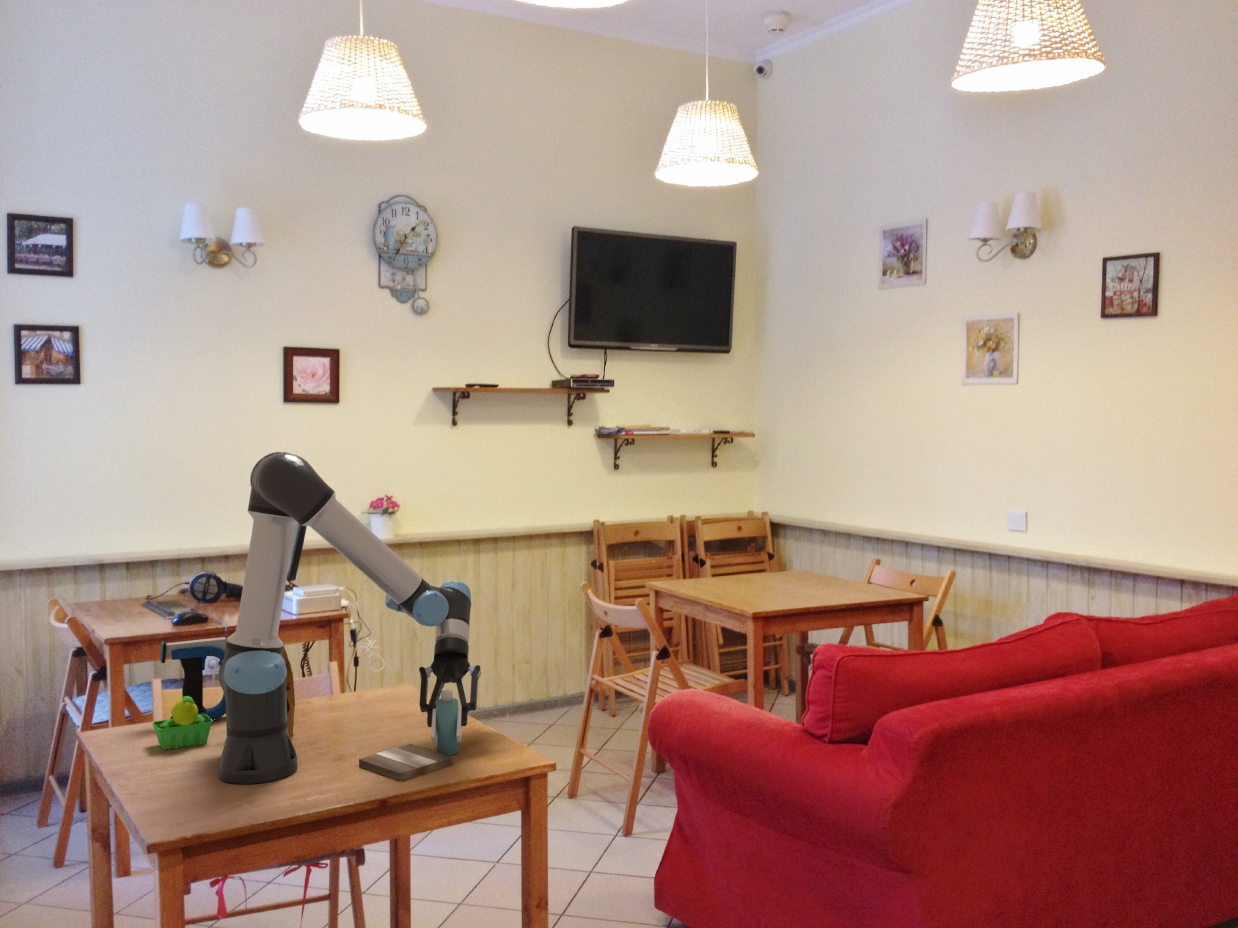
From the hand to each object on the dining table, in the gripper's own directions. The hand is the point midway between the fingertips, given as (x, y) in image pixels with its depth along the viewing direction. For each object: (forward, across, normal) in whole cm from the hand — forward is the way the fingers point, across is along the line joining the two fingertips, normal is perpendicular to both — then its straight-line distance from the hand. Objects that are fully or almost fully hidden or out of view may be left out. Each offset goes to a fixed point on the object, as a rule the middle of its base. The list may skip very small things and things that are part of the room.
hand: (446, 739), depth 221 cm
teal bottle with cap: (0, 0, -5) cm, 5 cm away
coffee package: (-12, +42, -17) cm, 47 cm away
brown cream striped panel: (+6, +8, 0) cm, 10 cm away
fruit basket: (-8, +59, -14) cm, 61 cm away
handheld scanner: (-21, +62, -27) cm, 71 cm away
